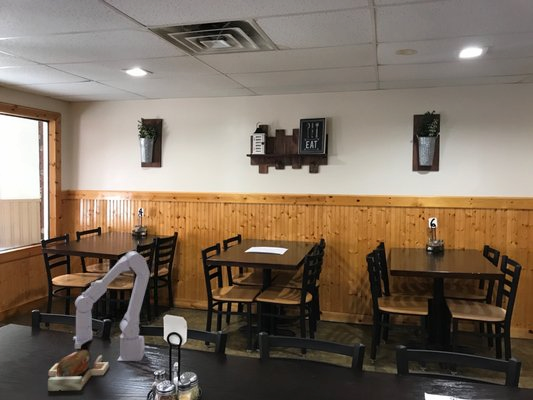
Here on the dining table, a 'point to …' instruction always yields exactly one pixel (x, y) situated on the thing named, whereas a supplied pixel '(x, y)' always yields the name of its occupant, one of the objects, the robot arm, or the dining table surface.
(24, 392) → the dining table surface
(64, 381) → the lane
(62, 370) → the tin
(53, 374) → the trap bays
